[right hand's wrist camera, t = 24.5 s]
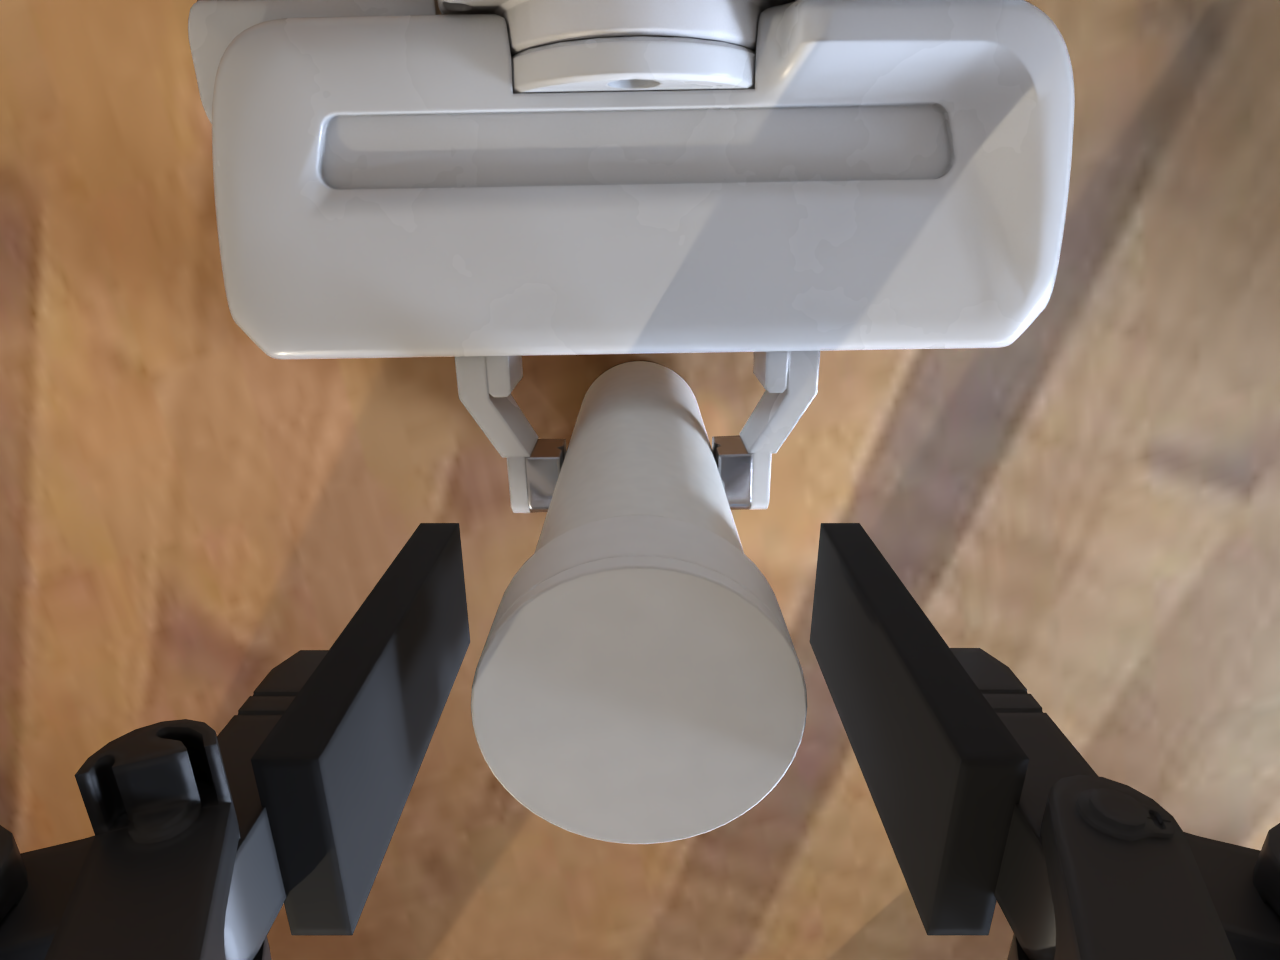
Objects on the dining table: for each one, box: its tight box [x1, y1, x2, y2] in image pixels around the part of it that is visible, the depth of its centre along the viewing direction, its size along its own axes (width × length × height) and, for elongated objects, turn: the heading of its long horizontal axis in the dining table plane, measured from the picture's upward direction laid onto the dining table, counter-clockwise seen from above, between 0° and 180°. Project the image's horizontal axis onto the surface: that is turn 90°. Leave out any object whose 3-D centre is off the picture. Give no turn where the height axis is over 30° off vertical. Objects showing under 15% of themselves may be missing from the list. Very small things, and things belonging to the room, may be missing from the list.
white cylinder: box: [534, 361, 744, 554], centre depth 19 cm, size 4×4×16 cm
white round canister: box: [471, 515, 807, 844], centre depth 11 cm, size 5×5×2 cm
